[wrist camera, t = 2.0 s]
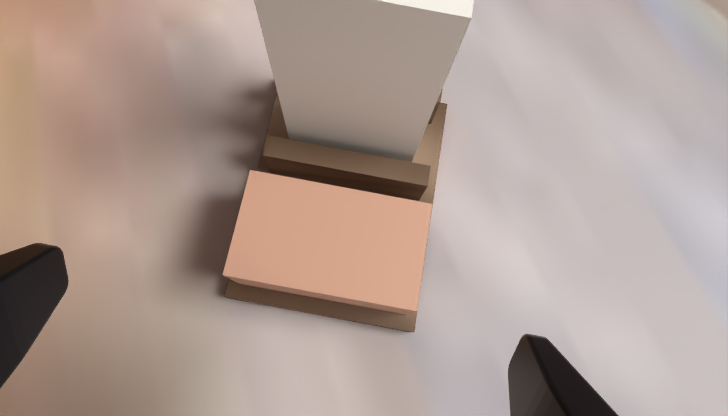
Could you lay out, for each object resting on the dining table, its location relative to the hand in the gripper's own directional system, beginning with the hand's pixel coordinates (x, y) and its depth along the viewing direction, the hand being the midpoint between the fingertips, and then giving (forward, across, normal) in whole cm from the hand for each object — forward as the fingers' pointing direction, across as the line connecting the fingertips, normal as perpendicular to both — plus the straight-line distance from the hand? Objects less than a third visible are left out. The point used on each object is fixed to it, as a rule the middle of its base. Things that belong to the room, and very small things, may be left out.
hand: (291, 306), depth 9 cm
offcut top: (+10, 0, +6) cm, 12 cm away
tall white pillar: (+16, 0, +3) cm, 16 cm away
